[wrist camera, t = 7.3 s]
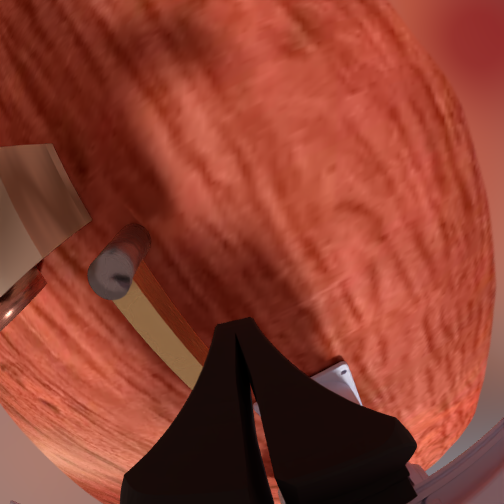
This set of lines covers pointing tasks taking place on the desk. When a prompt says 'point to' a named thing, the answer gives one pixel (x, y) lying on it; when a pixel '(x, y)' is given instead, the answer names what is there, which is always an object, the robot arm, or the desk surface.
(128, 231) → the bar
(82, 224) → the hitch block
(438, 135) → the desk surface
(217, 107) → the desk surface
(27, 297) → the pin
